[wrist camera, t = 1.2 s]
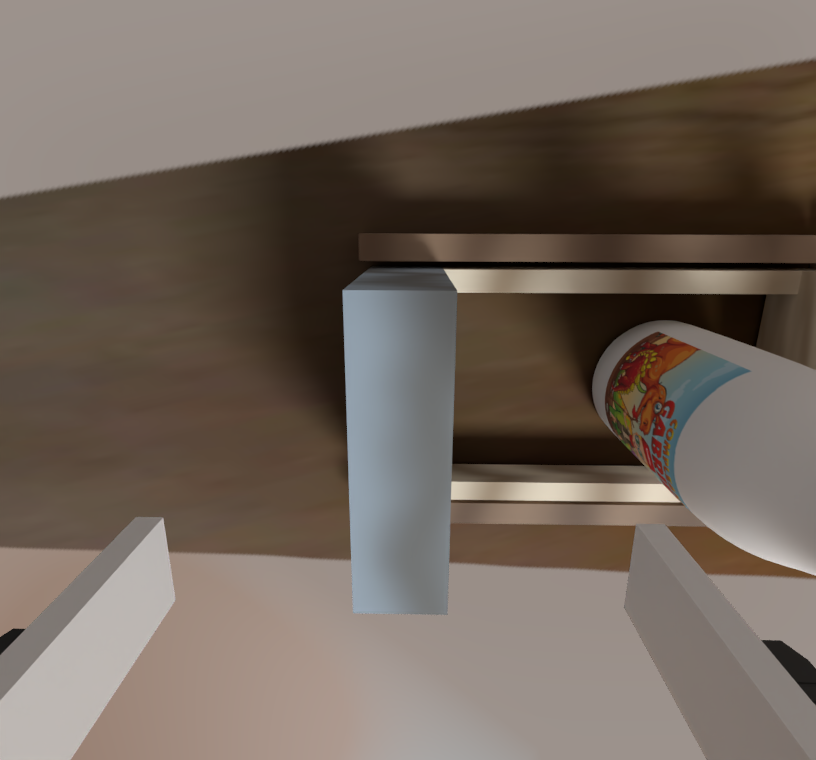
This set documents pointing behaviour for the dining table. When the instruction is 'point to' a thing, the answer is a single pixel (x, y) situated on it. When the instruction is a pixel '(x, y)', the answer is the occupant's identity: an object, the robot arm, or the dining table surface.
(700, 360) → the milk bottle
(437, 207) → the dining table surface
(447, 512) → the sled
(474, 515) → the dark wooden tray
